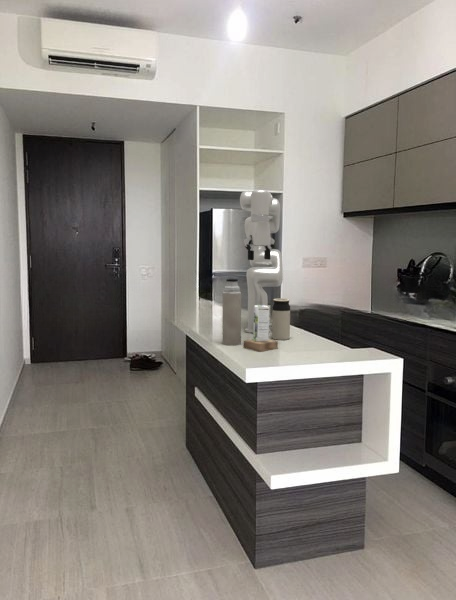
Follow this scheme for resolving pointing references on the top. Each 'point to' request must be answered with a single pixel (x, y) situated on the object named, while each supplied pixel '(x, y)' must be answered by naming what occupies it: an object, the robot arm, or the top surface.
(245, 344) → the base block
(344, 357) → the top surface
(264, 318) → the syrup box
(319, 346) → the top surface
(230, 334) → the thermos bottle
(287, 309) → the travel mug
